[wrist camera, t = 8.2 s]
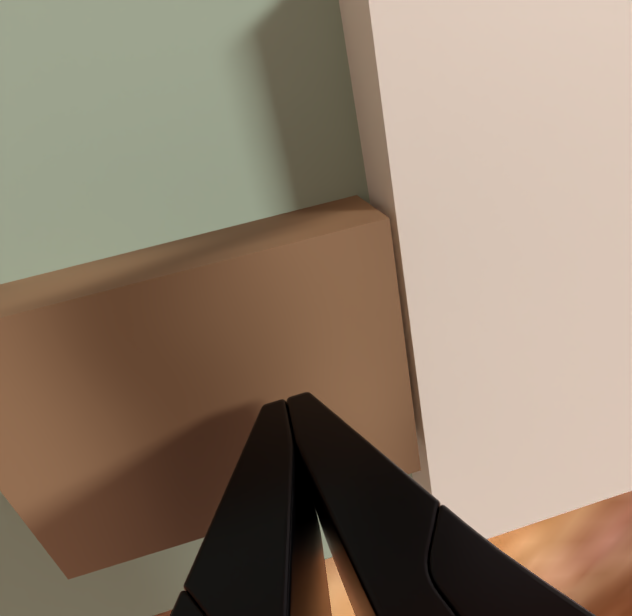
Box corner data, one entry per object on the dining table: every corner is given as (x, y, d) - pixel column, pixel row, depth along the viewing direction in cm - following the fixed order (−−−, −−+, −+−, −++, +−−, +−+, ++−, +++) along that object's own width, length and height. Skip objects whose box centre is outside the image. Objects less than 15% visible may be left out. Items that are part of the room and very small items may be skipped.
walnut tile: (356, 195, 9) (389, 218, 7) (391, 415, 12) (420, 470, 10) (-41, 294, 8) (-111, 346, 7) (92, 503, 11) (68, 579, 9)
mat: (415, 517, 14) (420, 528, 14) (-19, 659, 13) (-26, 674, 13) (313, -120, 7) (318, -132, 7) (-660, 76, 6) (-713, 75, 6)
